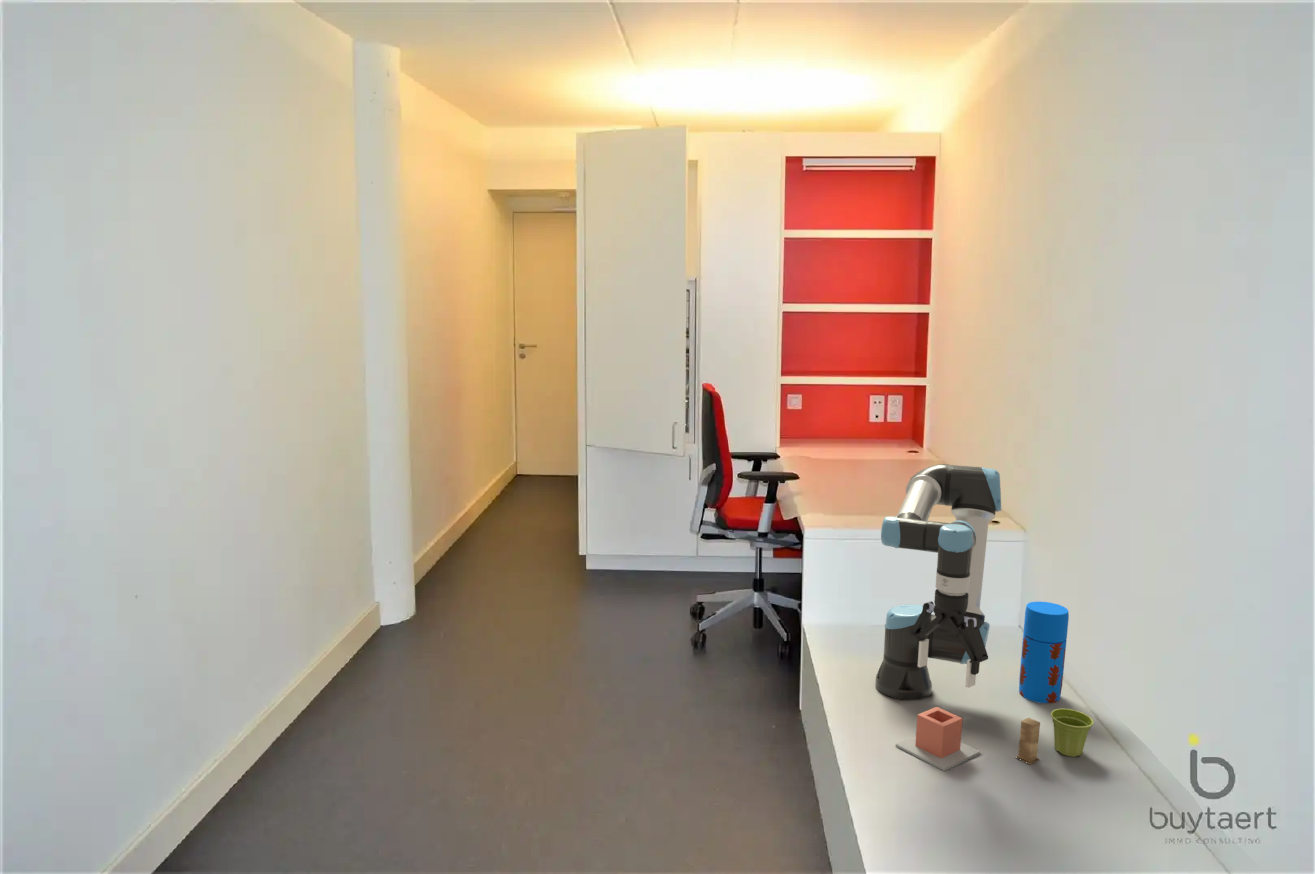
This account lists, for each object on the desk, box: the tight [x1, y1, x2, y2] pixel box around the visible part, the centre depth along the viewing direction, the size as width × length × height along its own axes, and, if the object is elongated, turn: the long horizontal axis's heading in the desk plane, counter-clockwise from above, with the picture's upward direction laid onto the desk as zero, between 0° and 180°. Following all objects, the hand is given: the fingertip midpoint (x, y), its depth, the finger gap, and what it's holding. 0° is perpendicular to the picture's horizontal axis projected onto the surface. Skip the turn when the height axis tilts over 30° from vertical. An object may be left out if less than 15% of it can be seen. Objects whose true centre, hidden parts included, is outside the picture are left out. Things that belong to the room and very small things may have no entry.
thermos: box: [1018, 601, 1070, 704], centre depth 251 cm, size 11×11×25 cm
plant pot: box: [1050, 708, 1094, 758], centre depth 222 cm, size 9×9×9 cm
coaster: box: [895, 734, 981, 772], centre depth 222 cm, size 14×14×1 cm
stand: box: [1015, 717, 1041, 765], centre depth 218 cm, size 4×4×10 cm
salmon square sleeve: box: [915, 706, 964, 758], centre depth 221 cm, size 7×7×8 cm
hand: (945, 675), depth 220 cm, fingers open, 13 cm apart
